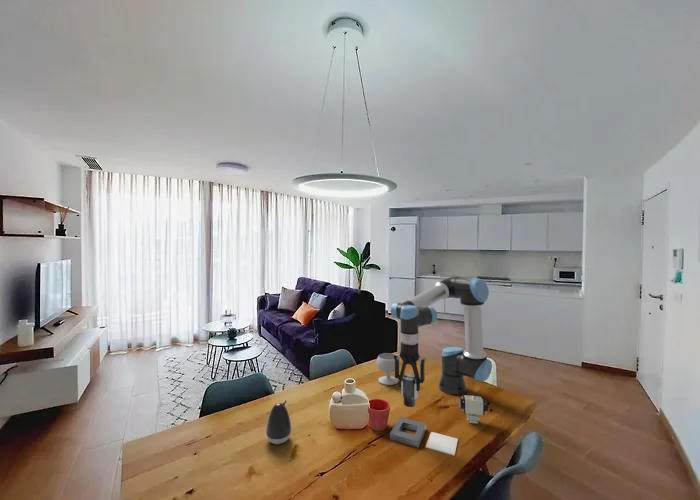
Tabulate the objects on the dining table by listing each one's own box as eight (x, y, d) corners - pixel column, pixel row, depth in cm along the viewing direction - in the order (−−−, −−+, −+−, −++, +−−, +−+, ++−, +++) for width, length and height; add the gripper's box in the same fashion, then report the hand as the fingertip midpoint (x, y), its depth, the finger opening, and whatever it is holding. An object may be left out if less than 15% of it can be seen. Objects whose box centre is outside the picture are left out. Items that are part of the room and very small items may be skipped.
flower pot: (376, 416, 145) (376, 396, 145) (394, 426, 137) (395, 404, 137) (360, 425, 137) (361, 403, 137) (379, 436, 129) (379, 413, 129)
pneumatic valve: (487, 426, 137) (488, 399, 137) (460, 423, 139) (460, 396, 139) (485, 419, 142) (485, 393, 142) (458, 416, 145) (458, 391, 145)
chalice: (377, 375, 191) (377, 351, 191) (399, 377, 189) (399, 352, 189) (375, 385, 177) (376, 359, 177) (400, 387, 175) (400, 361, 175)
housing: (399, 422, 140) (399, 416, 140) (426, 429, 134) (426, 423, 134) (389, 439, 127) (389, 433, 127) (418, 447, 122) (418, 441, 122)
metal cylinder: (405, 400, 134) (405, 372, 134) (416, 402, 132) (416, 375, 132) (402, 405, 130) (402, 377, 130) (413, 408, 127) (413, 379, 127)
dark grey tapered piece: (296, 435, 130) (296, 399, 130) (283, 450, 120) (283, 412, 120) (275, 430, 133) (275, 395, 133) (260, 445, 123) (261, 407, 123)
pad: (431, 432, 132) (431, 431, 132) (457, 439, 127) (457, 438, 127) (425, 447, 122) (425, 446, 122) (454, 455, 117) (454, 454, 117)
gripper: (386, 341, 131) (386, 395, 131) (428, 347, 123) (428, 405, 123) (392, 337, 138) (392, 388, 138) (432, 342, 130) (432, 396, 130)
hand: (409, 396), depth 131 cm, fingers closed on metal cylinder, 5 cm apart
